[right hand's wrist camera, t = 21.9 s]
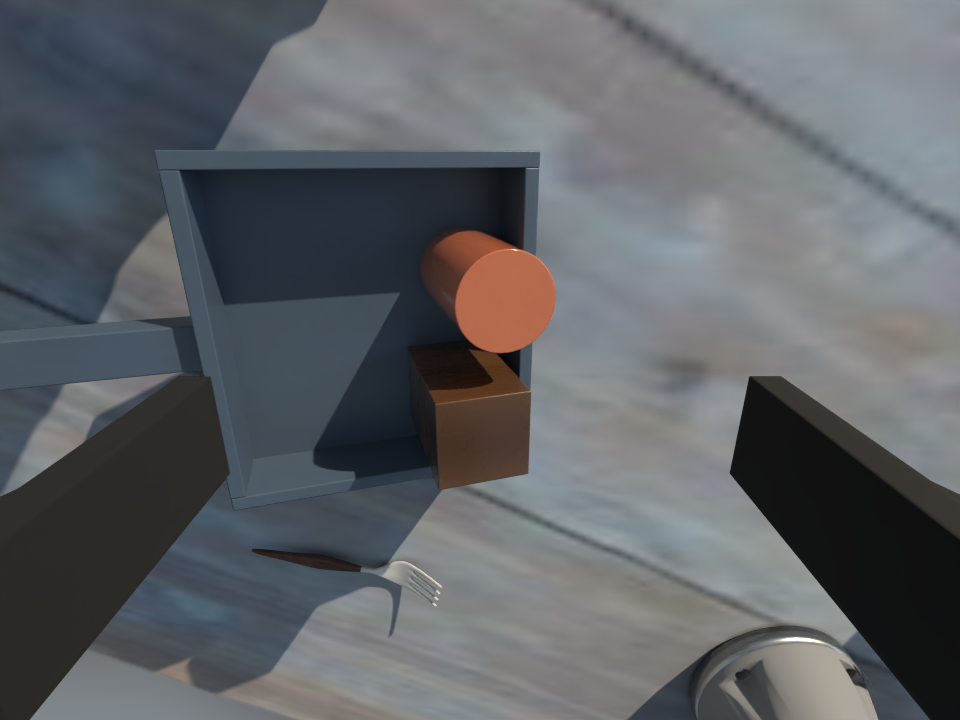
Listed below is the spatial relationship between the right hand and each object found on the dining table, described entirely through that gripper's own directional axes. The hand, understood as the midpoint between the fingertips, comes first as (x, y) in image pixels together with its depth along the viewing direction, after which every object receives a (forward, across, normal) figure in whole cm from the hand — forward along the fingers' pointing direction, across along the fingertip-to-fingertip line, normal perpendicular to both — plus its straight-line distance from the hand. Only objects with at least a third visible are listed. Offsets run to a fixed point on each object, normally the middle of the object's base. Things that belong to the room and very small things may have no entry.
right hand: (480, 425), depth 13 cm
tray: (+17, +14, +3) cm, 22 cm away
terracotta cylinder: (+20, +1, 0) cm, 20 cm away
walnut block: (+20, +2, +7) cm, 21 cm away
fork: (+23, +11, +26) cm, 36 cm away
